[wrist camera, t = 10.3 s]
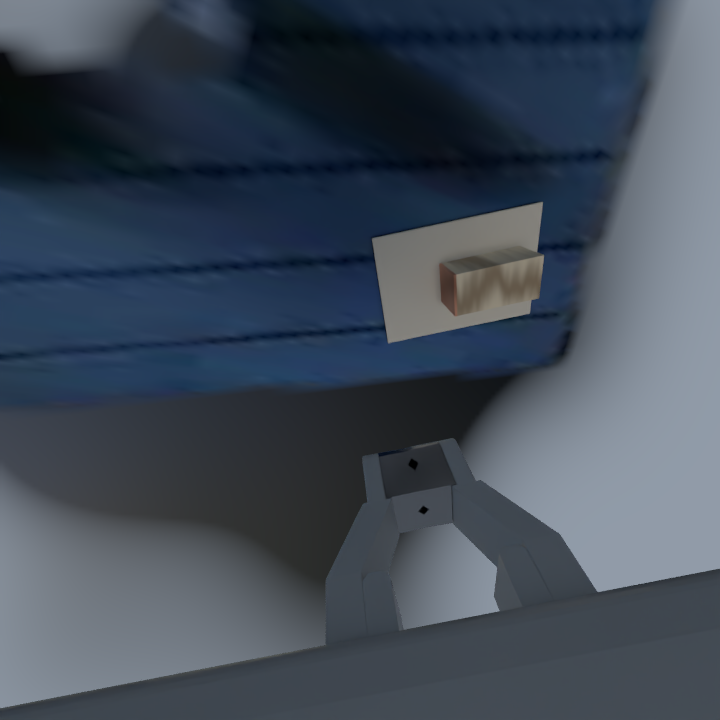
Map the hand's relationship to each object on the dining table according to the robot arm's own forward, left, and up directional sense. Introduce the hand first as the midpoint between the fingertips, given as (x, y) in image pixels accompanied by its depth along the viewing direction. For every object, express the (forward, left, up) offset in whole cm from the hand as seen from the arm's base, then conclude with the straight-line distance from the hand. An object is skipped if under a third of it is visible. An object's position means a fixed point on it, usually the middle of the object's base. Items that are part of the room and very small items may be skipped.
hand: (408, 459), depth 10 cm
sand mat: (+6, +13, -31) cm, 34 cm away
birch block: (+6, +11, -28) cm, 31 cm away
